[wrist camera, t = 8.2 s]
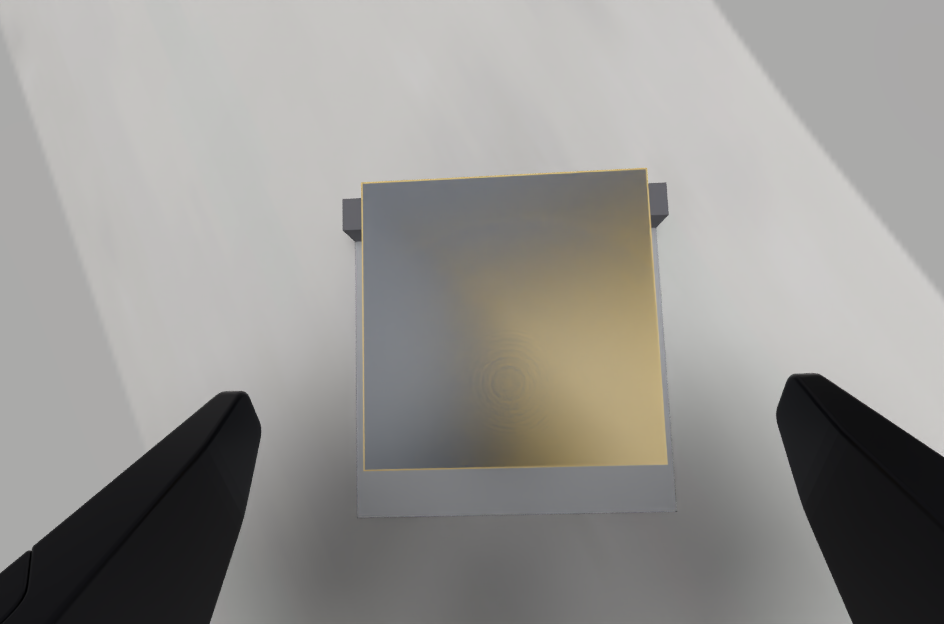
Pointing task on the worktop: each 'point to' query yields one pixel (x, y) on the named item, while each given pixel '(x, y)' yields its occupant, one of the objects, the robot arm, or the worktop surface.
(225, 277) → the worktop surface
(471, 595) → the worktop surface
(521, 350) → the grey block
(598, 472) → the pad
